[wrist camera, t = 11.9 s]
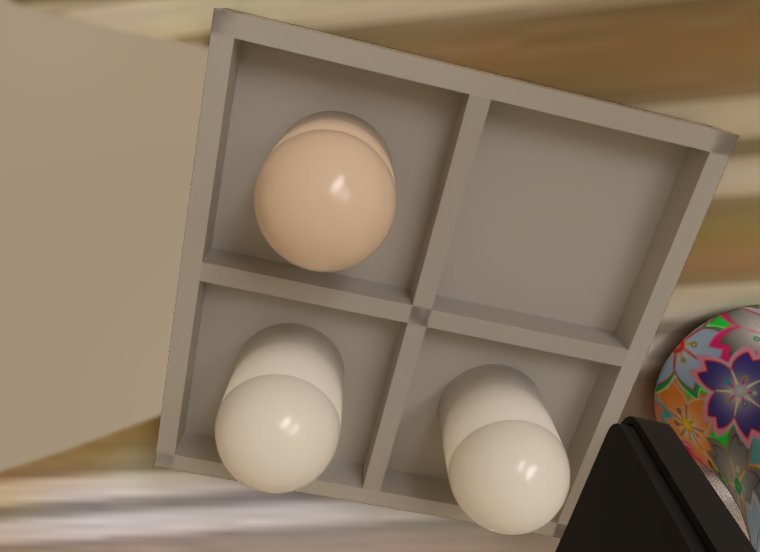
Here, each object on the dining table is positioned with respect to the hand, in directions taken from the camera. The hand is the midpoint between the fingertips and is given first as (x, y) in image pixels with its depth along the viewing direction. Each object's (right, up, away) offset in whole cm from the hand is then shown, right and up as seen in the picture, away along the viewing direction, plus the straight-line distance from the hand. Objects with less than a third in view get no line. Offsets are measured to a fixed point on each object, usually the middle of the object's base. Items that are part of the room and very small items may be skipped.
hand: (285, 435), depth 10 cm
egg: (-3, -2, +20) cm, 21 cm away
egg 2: (+6, -4, +21) cm, 23 cm away
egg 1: (-1, +6, +17) cm, 18 cm away
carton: (+3, +1, +20) cm, 20 cm away
